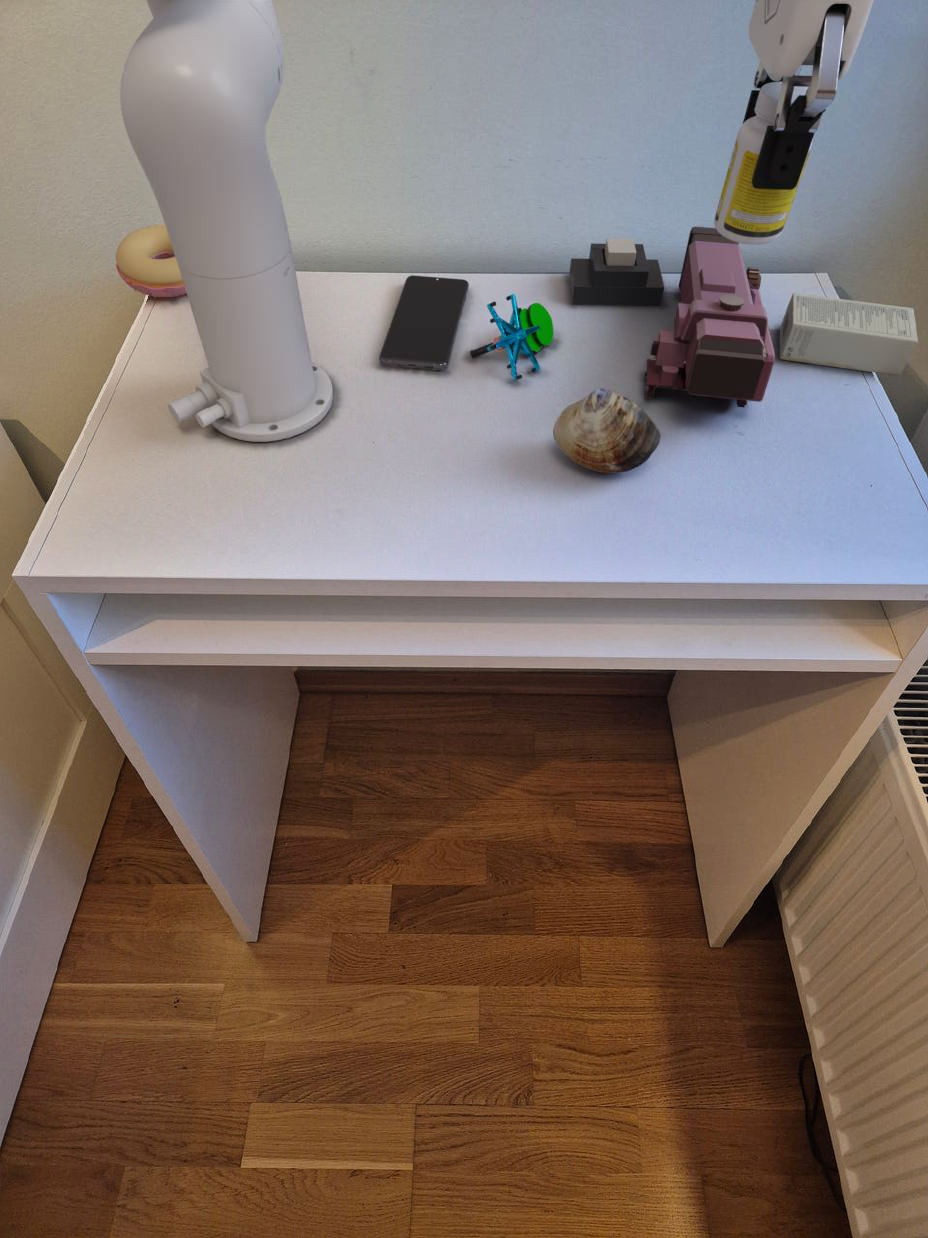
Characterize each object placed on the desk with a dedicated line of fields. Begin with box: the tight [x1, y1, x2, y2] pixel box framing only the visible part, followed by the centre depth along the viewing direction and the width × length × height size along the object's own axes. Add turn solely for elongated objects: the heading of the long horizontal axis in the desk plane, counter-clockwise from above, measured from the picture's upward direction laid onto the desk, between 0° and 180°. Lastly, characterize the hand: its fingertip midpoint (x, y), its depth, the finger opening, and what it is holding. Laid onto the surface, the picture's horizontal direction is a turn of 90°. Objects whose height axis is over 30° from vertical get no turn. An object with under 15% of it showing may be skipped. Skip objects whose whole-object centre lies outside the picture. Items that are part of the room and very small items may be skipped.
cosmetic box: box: [779, 292, 919, 377], centre depth 82 cm, size 6×4×12 cm
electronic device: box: [644, 226, 776, 409], centre depth 79 cm, size 11×27×10 cm, turn 171°
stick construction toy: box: [469, 293, 554, 381], centre depth 82 cm, size 12×7×8 cm
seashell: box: [552, 388, 662, 474], centre depth 70 cm, size 10×6×8 cm, turn 70°
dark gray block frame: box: [568, 242, 665, 307], centre depth 89 cm, size 10×6×4 cm, turn 89°
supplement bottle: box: [713, 82, 814, 246], centre depth 60 cm, size 5×5×10 cm
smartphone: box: [378, 274, 470, 371], centre depth 86 cm, size 7×1×16 cm
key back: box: [604, 237, 636, 266], centre depth 87 cm, size 3×3×2 cm
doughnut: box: [115, 224, 187, 299], centre depth 91 cm, size 11×11×4 cm
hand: (765, 165), depth 60 cm, fingers closed on supplement bottle, 5 cm apart
